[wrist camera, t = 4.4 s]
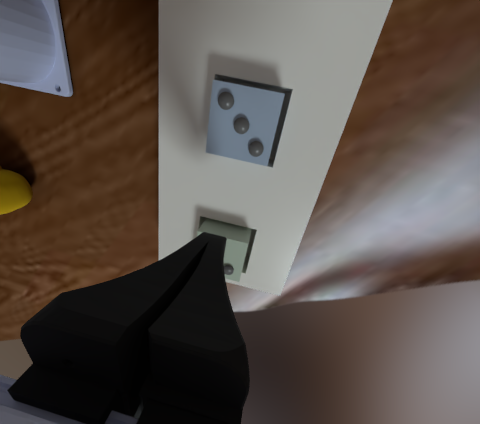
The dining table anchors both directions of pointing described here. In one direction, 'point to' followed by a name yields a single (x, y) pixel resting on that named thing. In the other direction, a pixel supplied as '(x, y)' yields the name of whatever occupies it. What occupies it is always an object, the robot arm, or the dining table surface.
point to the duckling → (13, 191)
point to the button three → (242, 122)
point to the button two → (230, 244)
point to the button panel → (289, 124)
